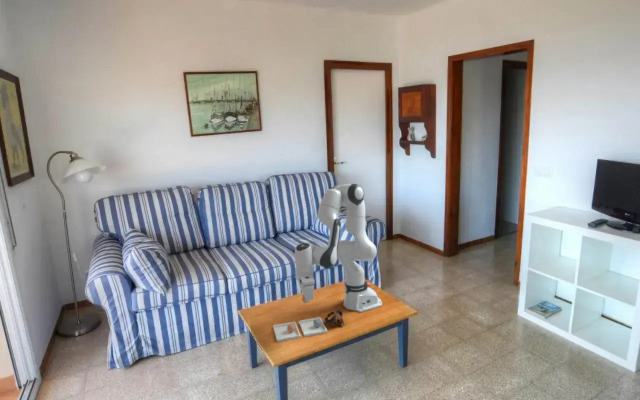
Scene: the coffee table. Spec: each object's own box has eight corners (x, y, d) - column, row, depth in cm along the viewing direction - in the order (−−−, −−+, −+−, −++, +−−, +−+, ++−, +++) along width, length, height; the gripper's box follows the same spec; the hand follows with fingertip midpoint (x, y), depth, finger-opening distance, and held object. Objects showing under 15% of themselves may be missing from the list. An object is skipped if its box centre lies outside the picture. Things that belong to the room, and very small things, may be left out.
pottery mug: (341, 332, 200) (333, 320, 198) (328, 334, 205) (320, 323, 204) (350, 316, 209) (342, 304, 208) (337, 319, 215) (328, 307, 213)
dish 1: (295, 324, 208) (295, 321, 207) (300, 338, 195) (300, 335, 194) (273, 328, 205) (272, 325, 205) (277, 343, 192) (276, 339, 191)
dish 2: (320, 320, 211) (320, 317, 211) (327, 333, 198) (327, 330, 198) (298, 323, 208) (298, 320, 208) (304, 337, 195) (304, 334, 195)
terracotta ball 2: (309, 299, 201) (308, 292, 201) (310, 303, 198) (310, 296, 197) (301, 301, 200) (301, 294, 200) (303, 304, 197) (302, 297, 196)
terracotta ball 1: (294, 328, 203) (293, 321, 202) (295, 332, 199) (295, 325, 198) (286, 330, 202) (286, 323, 201) (288, 334, 198) (287, 327, 197)
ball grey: (320, 324, 206) (319, 317, 205) (322, 328, 202) (321, 321, 201) (312, 325, 205) (312, 318, 204) (314, 329, 201) (314, 322, 200)
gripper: (294, 268, 205) (296, 292, 208) (302, 284, 185) (304, 310, 189) (306, 266, 206) (307, 290, 209) (315, 282, 187) (316, 308, 190)
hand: (306, 300), depth 199 cm, fingers closed on terracotta ball 2, 4 cm apart
